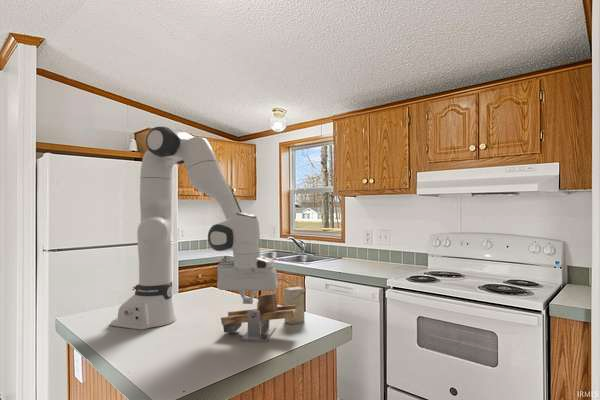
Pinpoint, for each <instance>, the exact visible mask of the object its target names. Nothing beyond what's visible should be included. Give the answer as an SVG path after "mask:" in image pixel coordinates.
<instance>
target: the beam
mask: <svg viewBox="0 0 600 400" xmlns="http://www.w3.org/2000/svg"><path fill="white" fill-rule="evenodd" d="M248 310H249V309H245V310H244V309H243V310H236V311H233V310H232V311H228V312H227V316H223V317H220V320H221V325H222V327H223V332H224V333H235V332H237V331H239V329H240V328H241V327H242V326H243V323H248ZM251 310H259V309H257V308H253V309H251ZM296 313H297V305H288V306H285V305H282V306H281V305H279V306H278V311H277V312H268V313H261V321H264V320H270V321H271V320H272V321H273V320H280V319H281V320H282V319H285V318H293V317H294V316H295V314H296Z"/></svg>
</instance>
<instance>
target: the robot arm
mask: <svg viewBox="0 0 600 400" xmlns="http://www.w3.org/2000/svg"><path fill="white" fill-rule="evenodd" d="M145 146H146V148H147V150H146V151H145V152H144V154H143V155H142V156H143V157H142V162H141V166H140V177H139V183H140V184H139V208H140V211H139V212H140V223H139V225H138V227H137V229H136V230H137V253H138V275H139V276H138V284H137V285H135V286H132V287H131V288H132V290H131V291H134V294H133V295H132V296H131V297H129V298H128V299H127V300H126V301H124V303H122V304H121V305H120V306H119V308H118V312H117V317H115V318H113V320H111V321H110V324H109V325H110V326H112V327H120V328H125V329H126V328H127V329H133V330H142V331H143V330H146V329H150V328H156V327H162V326H166V325H169V324H172V323H174V322H175V321H177V318H176V314H175V311H174V305H173V281H172V250H171V245H172V244H171V242H172V241H171V238H172V237H171V233H172V200H173V199H172V195H173V194H172V193H173V192H172V190H173V167H174V166H175V164H178V165H182V164H184V165H185V166H184V167H185V169H186V174H187V176H188V179H189V181H190V183H191V185H192V186H193V188H194V189H196V190H197V191H199V192H200V193H203V194H205V195H207V196H209V197H210V198H212V199H214V200H215V201H216V202H217V203H218V204H219V206H220V208H221V210H222V213H223V215H224V217H225V218H226V220H224V221H222V222H219V223H216V224H213V225H212V226H211V227H210V228H209V230H208V234H207V242H208V244H209V246H210V247H211V248H212V250H214V251H216V252H227V251H228V252H229V251H232V253H233V254H232V256H233V259H232V260H233V261H221V262H220V263H218V264H217V267H216V269H217V280H216V281H217V282H216V283H217V285H216V287H217V288H218V290H219V291H238V293H239V296H240V297H241V299H242V304H243V305H247V304H248V305H252V304H253V303H254V296H255V295H256V293H257V291H263V292H264V291H268V292H269V291H272V292H274V291H275V290H276V289H277V288H278V287H279V278H278V272H277V269H276V267H274V265H275V260H274V259H273V258H270V257H267V256H264V255H261V250H260V240H261V239H260V238H261V237H260V236H261V234H260V224H259V219H258V217H257V215H255V214H253V213H251V212H250V213H249V212H242V209H241V207H240V205H239V203H238V201H237V198H236V196H235V193H234V191H233V190H232V187H231V186H230V184H229V183H228V182H227V179H226V178H225V177H224V173H222V170H221V168H220V165H219V162H218V159H217V157H216V154H215V152H214V150H213V148H212V146H211V144H210V142H209V141H208V140H207V139H206V138H205V137H202V136H195V135H193V134H191V133H187V132H185V131H183V130H180V129H175V128H170V127H167V126H154V127H153V128H151V129H150V130H149V131H148V133H147V135H146V137H145ZM246 291H249V293H250V294H251V295H250V296H249V297H247V295H246V294H245V293H246Z"/></svg>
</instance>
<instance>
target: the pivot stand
mask: <svg viewBox="0 0 600 400" xmlns="http://www.w3.org/2000/svg"><path fill="white" fill-rule="evenodd" d="M256 309H259V303H258V301H257V302H256ZM247 310H248V322H247V330H246V332H245V334H244V335H243V336H242V337H241V338H240V341H241V342H251V343H267V342H268V340H269V338H270V337H271V336H272V334H274V332H275V330H276V329H277V328H276V326H275V325H270V321H271V320H264V321H261V310H252V309H247Z"/></svg>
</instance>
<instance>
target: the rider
mask: <svg viewBox="0 0 600 400" xmlns="http://www.w3.org/2000/svg"><path fill="white" fill-rule="evenodd" d="M257 302H258V303H259V310H261V313H268V312H277V311H278V307H279V306H278V300H277V295H276V292H267V293H261V294H260V295H258V296H257Z"/></svg>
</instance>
